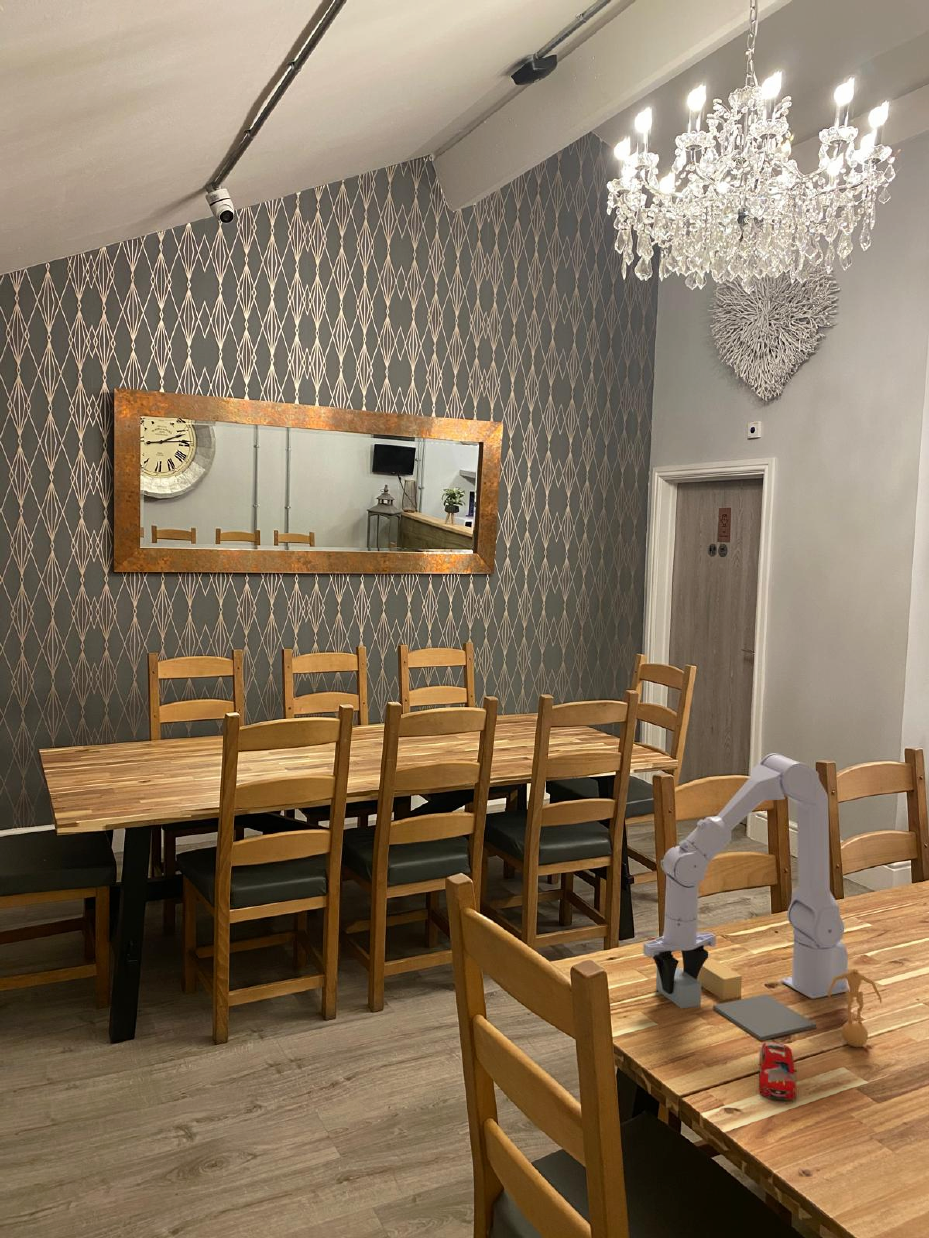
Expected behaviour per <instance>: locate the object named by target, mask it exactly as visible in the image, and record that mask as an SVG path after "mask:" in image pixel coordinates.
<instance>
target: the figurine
mask: <svg viewBox="0 0 929 1238" xmlns="http://www.w3.org/2000/svg"><path fill="white" fill-rule="evenodd" d="M844 978H846V979H847V984H848V987H849V988H850V991H849V990H846V992H845V1001H846V1005H847V1007H846V1009H847V1013H848V1014H847V1015H848V1019H847V1021H846V1022H845V1023H844V1024H842V1028H841V1036H842V1039H843V1040H844V1042H845V1043H846V1044H847V1045H849V1046H851V1047H852V1048H853V1047H854V1048H860V1047H863V1046H864V1045H865V1044H866V1043H867V1041H868V1039H869V1033H868V1030H867V1027H865V1025H864V1024H863V1023H862V1019H861V1018H862V1017H861V1012H862V1011H863V1008H864V997H863V996H864V992H863V991H862V990H861V991H859V988H860V986H861V985H862V981H864V982H866V983H868V984H870V985H871V986H872V988H873V990H874V992H875V993H876V995H877V996H878V1001H879V1003H880V1004H882V997H881V993H880V992H879V990H878V988H877V985H876V983H875V982H874V981H873V980H871V979H870V978H868V977H867V976H865V975H864V974H862V973H860V972H859V970H858V969H856V968H855V969H854V968H851V969H849V970H847V973H844V974H842V975H839V976H836V977H835V978H834V979H833V981H832V984H831V986H830V989H829V991H828V996H827V997H830V996H831V995H830V994H832V993H831V990H832V989H833V987H834V984H835V982H836V980H840V979H844ZM832 995H833V994H832ZM854 998H856V999H855V1000H856V1003H857V1004H858V1007H857V1015H856V1017H857V1019H856V1020H854V1019H853V1017H852V1004H853V1002H854Z"/></svg>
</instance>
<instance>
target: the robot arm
mask: <svg viewBox="0 0 929 1238" xmlns="http://www.w3.org/2000/svg"><path fill="white" fill-rule="evenodd" d="M750 773H751V774H750V775H749V778H748V779H747V780H746V781H745V782H744V784H743V785H742V786H741V787H740V788H739V790H738V791H737V792H736V793H735V794H734V795H733V797H731V799H730V800H729V802H727V803H726V804H725V806H724V807H723V808H722V809H721V811H719V813H718V814H717V815H715V816H714V815H713V816H706V817H705V818H704V819H700V820H698V822H697V823H696V826H697V827H696V828H695V829H694V830H693V831H692V832H691V833H690V834H689V835H688V836H687V837H685V839H684V840H683V839H682V840H681V841H680V842H678V845H676V846H675V847H674V846H673V847H671V848H669V849H668V850H667V851H666V852H665V854H664V856H663V859H662V860H660V866H661V869H662V871H663V872H664V874H665V876H666V877H665V881H666V882H665V898H664V900H665V902H664V903H665V905H664V928H663V929H664V930H663V933H662V936H660V937H658V938H655V939H653V940H651V941H648V942H643V947H642V949H643V950H642V951H643V952H642V953H643V955H644V956H646V957H648V958H649V959H653V961H654V963H655V966H656V969H657V968H658V971H659V974H660V978H661V983H662V988H663V990H664V991H665V992H667V993H668V994H672V993H673V988H674V976H675V971H676V968H677V967H678V965H679V962H680V961H679V960H678V959H677V958H675V957H674V954H672V953H675V952H679V951H681V956H682V964H683V965H682V967H683V969H682V970H683V971H685V972H686V973H687V974H689V975H690V976H692V977H693V978H695V979H696V980H697V977H698V974H699V972H700V969H701V967H702V966H703V964H704V962H705V961H706V960H708V958H709V951H708V950H707V949H705V947H707V946H709V947H711V948H712V947H716V945H717V944H716V942H717V940H716V939H717V935H715V934H713V933H712V932H709V931H707V932H698V910H699V885H700V883H701V882H702V881H703V880H704V879H705V876H706V874H707V868H708V867H709V864H710V863H711V862H712V861H713V859H714V858H716V856H718V855H719V853H720V852H721V851H722V850H724V848H725V847H726V846H727V845H728V844H729V843H730V842H731V841H732V831H733V829H734V828H735V827H736V826H737V825H739V824H740V823H741V822H742V821H743V820H744V819H745V818H747V817H748V815H749V814H750V813H752V812H753V811H754V810H755V809H756V808H757V807H758V806H759V805H761V804H762V803H763V802H765V801H776V800H778V801H780V800H781V801H782V800H785V799H786V798H785V796H786V797H787V798H789V800H791V801H792V802H793V803H794V804H795V805H796V827H797V829H796V830H797V831H796V833H797V834H796V835H797V837H796V838H797V880H798V881H797V884H798V885H797V887H796V888H795V889H794V890H793V891H792V892H791V900H790V904H789V906H788V909H787V915H786V916H787V920H788V922H789V924H790V925H791V926H792V934H793V947H792V948H793V949H792V951H793V953H792V972H791V976H789V977H784V978H781V983H784V985H787V986H789V987H791V988H792V989H794V990H796V991H797V992H799V993H801V994H803V995H805V996H806V997H808V998H810V999H813V1000H814V999H818V998H823V997H829V996H831V995H836V994H840V993H846V990H849V992H850V987H849V986H848V985H847V984H848V981H847V979H846V978H844V979H840V980H836V982H835V984H834V987H833V989H832V990H831V993H832V994H830V995H829V996H828V991H829V989H830V986H831V984H832V981H833V979H834V978H835V977H836V976H839V975H842V974H844V973H847V972H848V962H849V961H848V960H849V957H848V956H849V955H848V950H847V948H846V945H845V944H844V943H843V941H842V938H843V936H844V933H845V924H844V921H843V919H842V918H841V915H840V906H839V904H838V902H837V900H836V899H835V897H834V895H833V894H832V892H831V890H830V889H831V888H830V831H829V830H830V828H829V827H830V826H829V824H830V823H829V822H830V821H829V819H830V818H829V795H828V793H827V791H826V789H825V788H824V785H823V784H822V782H821V780H820V776H819V775H820V774H819V772H818V771H817V770H815V769H814V768H813V767H812V766H810V765H809V764H807V763H804V762H801V761H797V760H794V759H791V758H789V757H786V756H784V754H783V755H782V754H780V753H775V752H774V753H769V754H766V755H765V756H764V757H763V758H762V759H761V761H760V762H759V763H758V764H756V765H755V766H753V768H752V771H751V772H750Z"/></svg>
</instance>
